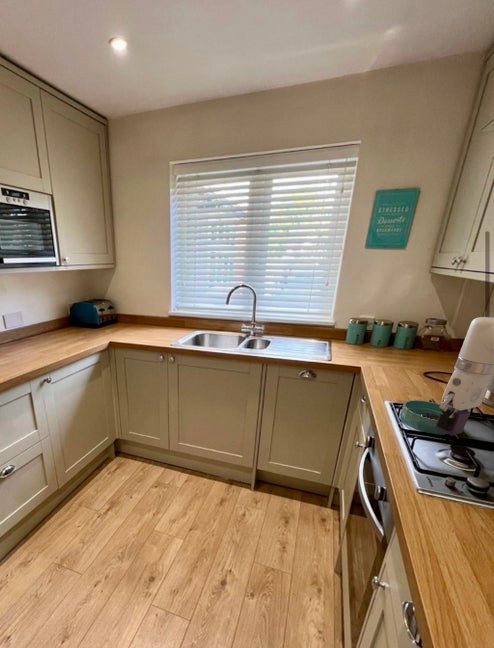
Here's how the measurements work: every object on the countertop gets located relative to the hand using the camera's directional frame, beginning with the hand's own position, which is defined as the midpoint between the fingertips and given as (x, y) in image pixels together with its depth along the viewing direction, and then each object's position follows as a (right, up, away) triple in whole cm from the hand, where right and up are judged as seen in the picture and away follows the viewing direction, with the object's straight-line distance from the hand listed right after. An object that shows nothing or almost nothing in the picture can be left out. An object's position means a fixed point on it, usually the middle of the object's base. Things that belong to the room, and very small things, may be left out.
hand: (449, 426), depth 92 cm
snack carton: (0, -1, +1) cm, 1 cm away
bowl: (+4, -1, +14) cm, 15 cm away
